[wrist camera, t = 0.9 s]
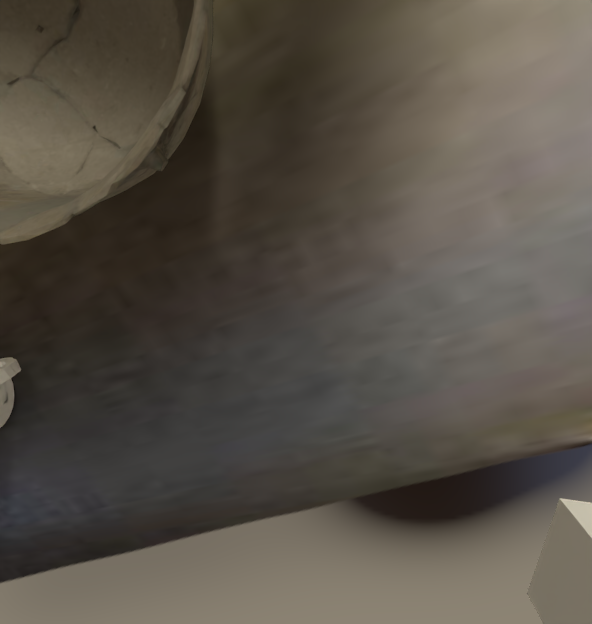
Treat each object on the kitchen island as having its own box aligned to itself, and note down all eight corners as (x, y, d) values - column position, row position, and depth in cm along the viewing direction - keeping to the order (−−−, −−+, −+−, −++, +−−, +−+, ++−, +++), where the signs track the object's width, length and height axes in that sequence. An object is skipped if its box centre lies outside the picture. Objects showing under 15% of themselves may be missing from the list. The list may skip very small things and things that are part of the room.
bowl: (266, -104, 31) (239, -349, 17) (225, 240, 37) (177, 281, 22) (-89, -169, 30) (-444, -486, 16) (-76, 193, 36) (-328, 203, 21)
